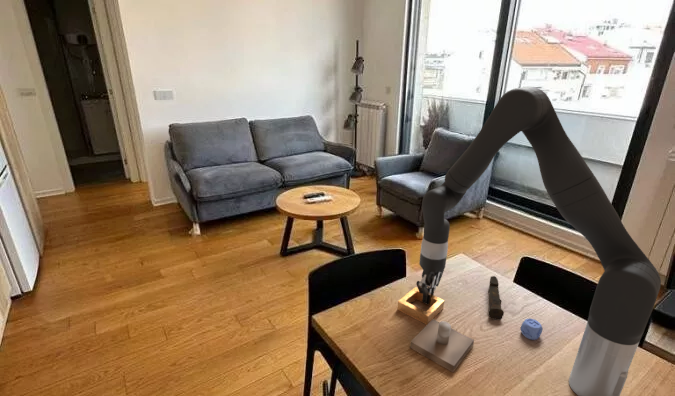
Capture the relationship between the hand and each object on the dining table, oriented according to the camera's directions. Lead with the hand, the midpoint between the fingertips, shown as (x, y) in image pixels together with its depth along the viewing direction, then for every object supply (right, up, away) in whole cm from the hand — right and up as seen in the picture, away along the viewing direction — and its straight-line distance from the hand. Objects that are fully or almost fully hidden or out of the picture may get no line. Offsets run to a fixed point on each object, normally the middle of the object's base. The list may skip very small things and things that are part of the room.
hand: (427, 301), depth 114 cm
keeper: (-1, -7, -17) cm, 19 cm away
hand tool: (+21, -1, +2) cm, 21 cm away
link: (-3, -2, -3) cm, 4 cm away
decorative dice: (+25, -6, -12) cm, 29 cm away
